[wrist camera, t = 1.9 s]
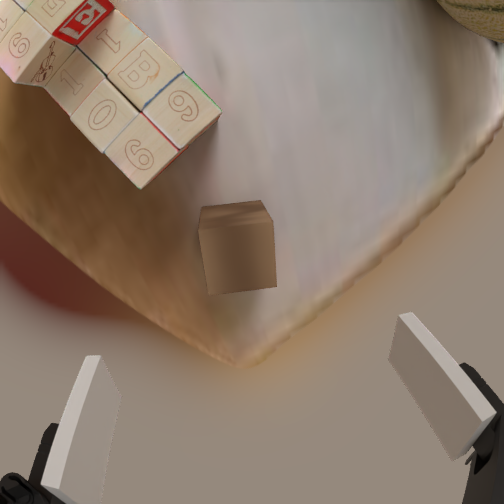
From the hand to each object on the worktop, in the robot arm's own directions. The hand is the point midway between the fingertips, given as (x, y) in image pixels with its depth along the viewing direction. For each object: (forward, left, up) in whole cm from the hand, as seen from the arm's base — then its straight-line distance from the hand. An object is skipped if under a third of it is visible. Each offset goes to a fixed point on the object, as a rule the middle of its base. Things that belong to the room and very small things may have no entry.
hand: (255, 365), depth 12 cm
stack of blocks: (+9, -17, -16) cm, 25 cm away
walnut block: (0, 0, -16) cm, 16 cm away
